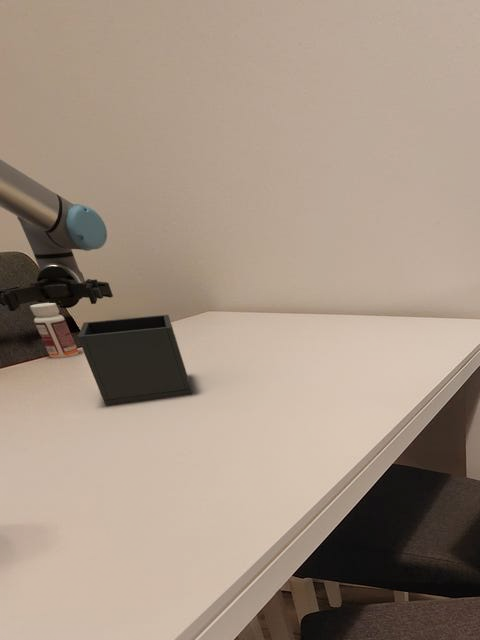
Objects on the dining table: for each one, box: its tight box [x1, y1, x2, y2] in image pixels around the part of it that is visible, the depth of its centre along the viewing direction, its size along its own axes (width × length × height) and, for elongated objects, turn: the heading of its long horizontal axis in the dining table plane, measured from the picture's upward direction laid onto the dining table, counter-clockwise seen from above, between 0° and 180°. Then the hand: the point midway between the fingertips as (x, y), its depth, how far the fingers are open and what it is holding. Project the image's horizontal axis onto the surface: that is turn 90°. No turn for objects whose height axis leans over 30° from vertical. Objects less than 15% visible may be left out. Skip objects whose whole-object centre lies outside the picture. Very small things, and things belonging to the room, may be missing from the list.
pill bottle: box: [29, 302, 79, 359], centre depth 105 cm, size 5×5×8 cm
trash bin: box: [77, 314, 193, 407], centre depth 85 cm, size 11×11×9 cm
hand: (50, 299), depth 111 cm, fingers open, 13 cm apart
